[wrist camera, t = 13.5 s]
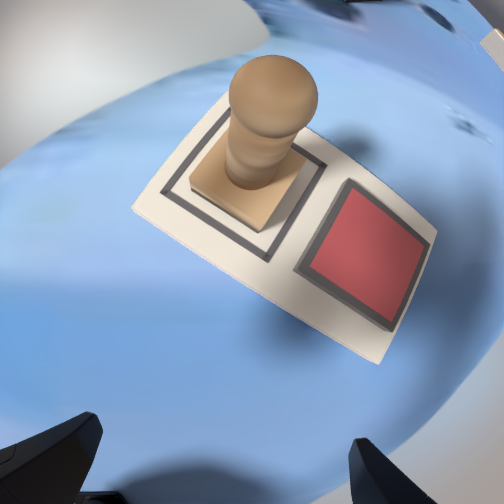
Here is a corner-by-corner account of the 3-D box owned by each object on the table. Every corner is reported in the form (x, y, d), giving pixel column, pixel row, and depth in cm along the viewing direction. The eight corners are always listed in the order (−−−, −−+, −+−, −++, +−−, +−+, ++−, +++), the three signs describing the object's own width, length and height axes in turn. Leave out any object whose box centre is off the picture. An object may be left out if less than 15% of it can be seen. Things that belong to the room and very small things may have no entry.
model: (480, 42, 35) (497, 26, 27) (509, 77, 35) (527, 63, 27) (478, 43, 34) (495, 27, 27) (507, 80, 34) (527, 66, 27)
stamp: (296, 173, 21) (371, 73, 9) (257, 233, 20) (316, 162, 8) (234, 134, 21) (258, 11, 9) (191, 190, 20) (171, 79, 8)
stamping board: (427, 233, 24) (438, 230, 22) (369, 361, 21) (379, 365, 20) (231, 95, 23) (232, 84, 21) (136, 213, 20) (130, 207, 19)
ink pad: (421, 246, 22) (430, 244, 20) (384, 330, 20) (392, 332, 19) (342, 182, 21) (349, 177, 20) (292, 270, 20) (297, 269, 19)
